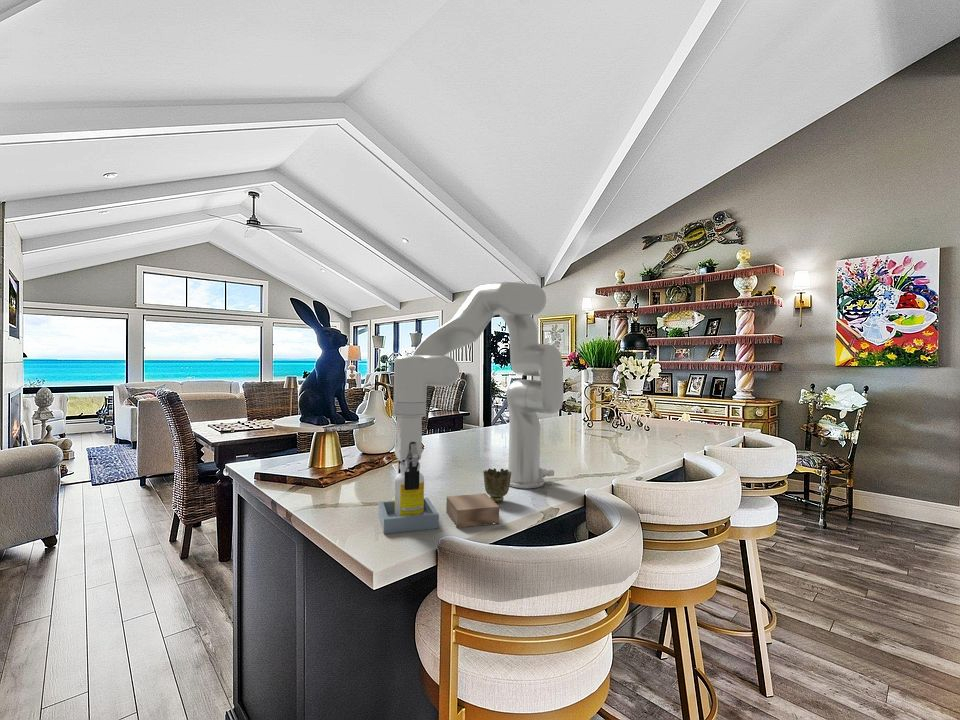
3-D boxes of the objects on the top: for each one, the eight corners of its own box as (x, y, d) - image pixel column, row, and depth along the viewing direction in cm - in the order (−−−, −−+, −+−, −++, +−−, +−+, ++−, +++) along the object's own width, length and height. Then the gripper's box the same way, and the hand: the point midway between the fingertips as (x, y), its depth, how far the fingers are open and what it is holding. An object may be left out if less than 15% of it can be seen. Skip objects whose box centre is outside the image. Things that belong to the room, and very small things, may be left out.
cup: (480, 504, 115) (481, 474, 115) (484, 496, 122) (485, 467, 122) (509, 507, 114) (510, 475, 114) (511, 497, 121) (512, 468, 121)
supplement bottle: (429, 519, 102) (430, 463, 102) (404, 526, 98) (406, 468, 97) (412, 511, 107) (413, 458, 107) (388, 517, 102) (389, 462, 102)
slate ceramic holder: (427, 510, 110) (428, 497, 110) (438, 528, 99) (438, 514, 99) (378, 514, 106) (378, 501, 106) (383, 533, 95) (384, 519, 95)
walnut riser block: (484, 509, 111) (485, 493, 111) (498, 523, 102) (499, 506, 102) (446, 512, 108) (446, 496, 108) (457, 528, 99) (457, 510, 99)
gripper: (388, 405, 109) (387, 474, 109) (398, 414, 93) (396, 496, 93) (419, 404, 112) (417, 472, 112) (433, 413, 95) (432, 493, 95)
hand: (408, 483), depth 102 cm, fingers open, 9 cm apart
